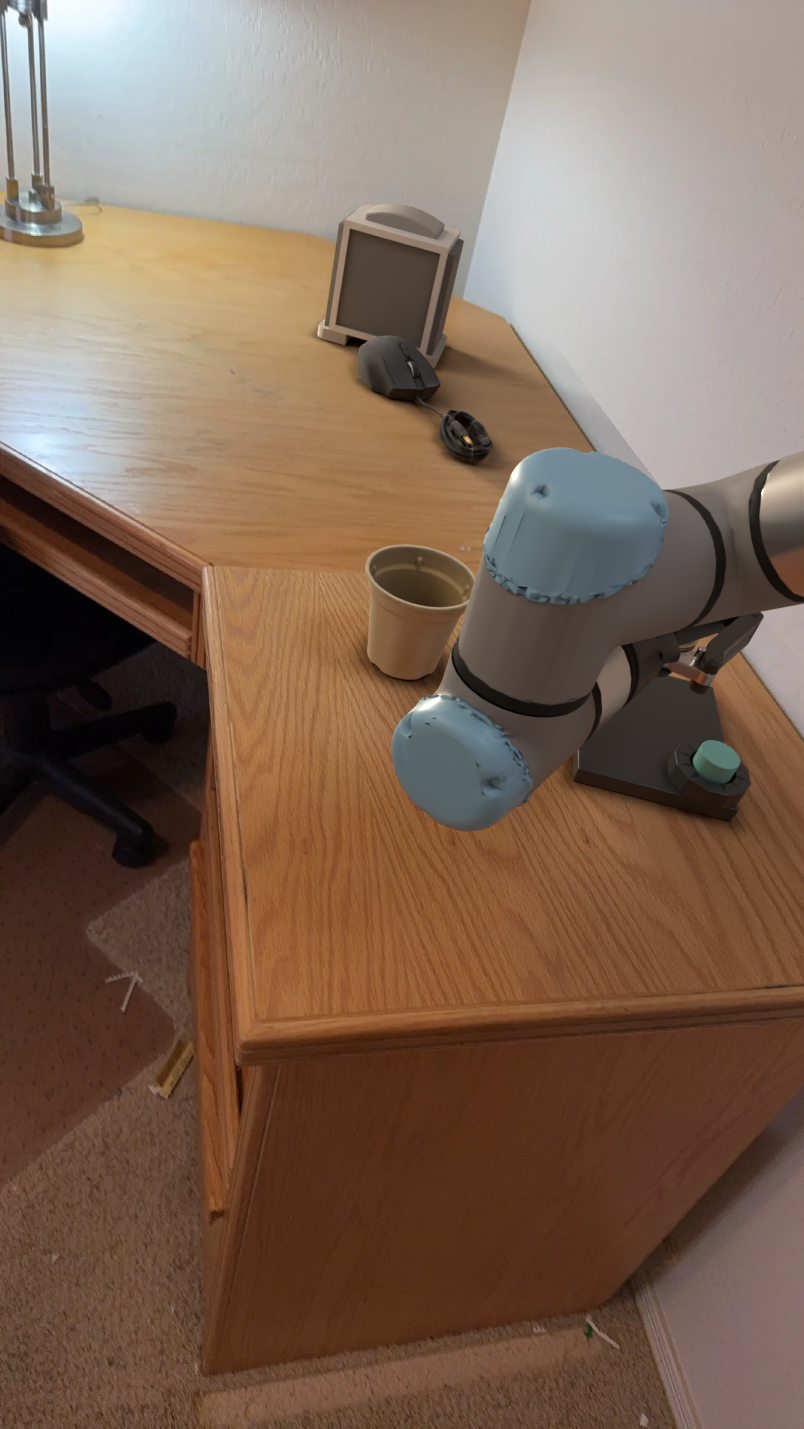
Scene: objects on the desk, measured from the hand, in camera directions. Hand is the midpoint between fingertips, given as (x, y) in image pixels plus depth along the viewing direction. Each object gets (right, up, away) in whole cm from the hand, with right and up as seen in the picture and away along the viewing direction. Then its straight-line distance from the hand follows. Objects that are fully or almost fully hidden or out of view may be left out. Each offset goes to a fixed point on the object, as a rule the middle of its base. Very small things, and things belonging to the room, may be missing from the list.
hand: (715, 557), depth 71 cm
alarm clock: (-28, +45, +66) cm, 85 cm away
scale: (-4, -15, +4) cm, 16 cm away
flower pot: (-25, -8, +6) cm, 27 cm away
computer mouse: (-23, +29, +48) cm, 61 cm away
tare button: (-1, -17, -2) cm, 17 cm away
